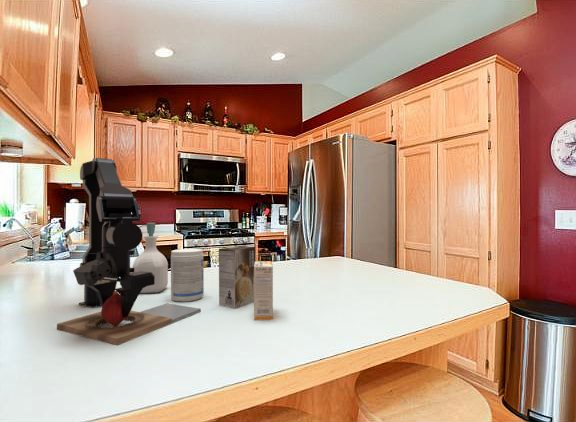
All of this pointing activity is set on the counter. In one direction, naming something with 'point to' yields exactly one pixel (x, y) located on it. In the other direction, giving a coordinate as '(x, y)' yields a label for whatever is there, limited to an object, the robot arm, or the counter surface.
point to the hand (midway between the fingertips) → (115, 315)
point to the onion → (113, 310)
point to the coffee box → (236, 276)
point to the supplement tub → (187, 275)
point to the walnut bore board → (117, 334)
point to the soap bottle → (152, 262)
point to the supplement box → (263, 290)
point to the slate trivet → (172, 311)
